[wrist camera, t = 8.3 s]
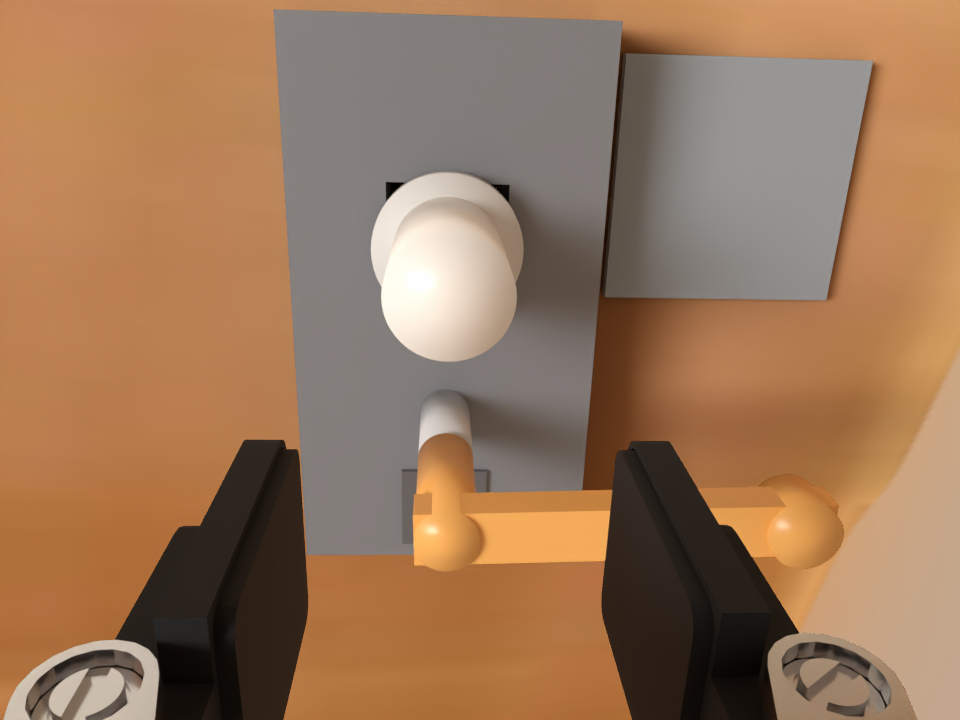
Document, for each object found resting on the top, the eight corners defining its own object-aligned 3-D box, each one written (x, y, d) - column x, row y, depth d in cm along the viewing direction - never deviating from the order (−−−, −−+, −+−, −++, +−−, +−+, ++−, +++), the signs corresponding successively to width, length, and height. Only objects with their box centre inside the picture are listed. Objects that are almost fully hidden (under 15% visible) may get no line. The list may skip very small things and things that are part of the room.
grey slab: (294, 15, 30) (248, 2, 23) (600, 25, 31) (649, 15, 24) (320, 506, 38) (292, 610, 31) (563, 506, 39) (591, 607, 32)
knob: (379, 155, 32) (350, 201, 22) (514, 158, 33) (548, 205, 22) (382, 285, 34) (356, 385, 24) (508, 287, 35) (538, 386, 24)
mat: (623, 53, 31) (626, 53, 31) (865, 60, 32) (873, 61, 31) (602, 293, 35) (604, 297, 34) (820, 296, 35) (826, 300, 35)
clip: (775, 425, 29) (849, 506, 23) (766, 477, 29) (837, 568, 24) (417, 431, 28) (412, 516, 23) (418, 484, 29) (414, 578, 24)
